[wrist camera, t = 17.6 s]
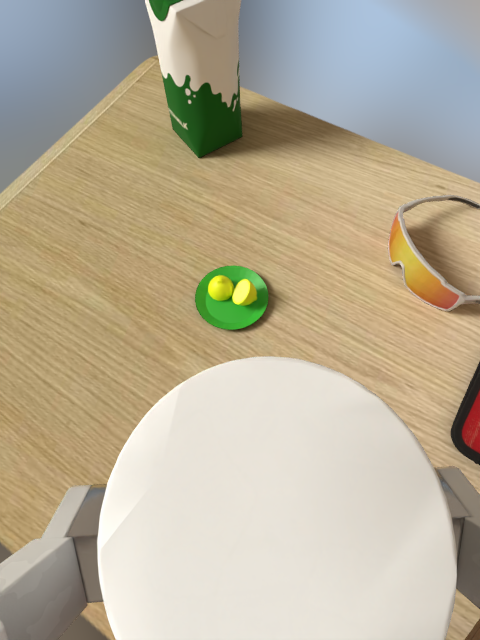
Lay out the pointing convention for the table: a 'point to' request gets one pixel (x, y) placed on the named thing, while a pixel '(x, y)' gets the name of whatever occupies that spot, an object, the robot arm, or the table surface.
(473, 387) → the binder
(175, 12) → the soya milk
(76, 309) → the table surface
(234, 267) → the plate with lemons
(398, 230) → the sunglasses
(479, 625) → the chest
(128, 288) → the table surface
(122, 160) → the table surface
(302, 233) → the table surface
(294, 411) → the pill bottle
